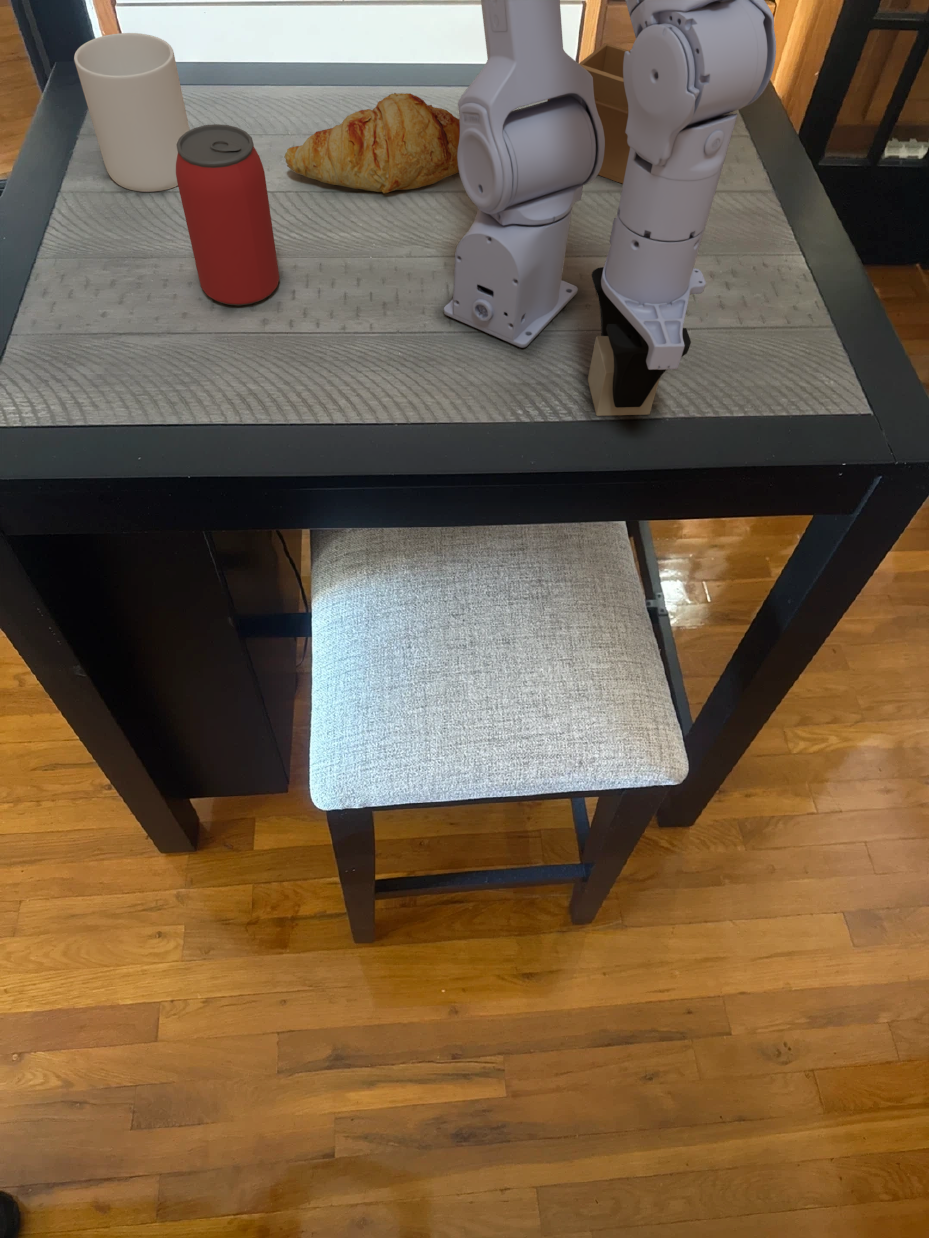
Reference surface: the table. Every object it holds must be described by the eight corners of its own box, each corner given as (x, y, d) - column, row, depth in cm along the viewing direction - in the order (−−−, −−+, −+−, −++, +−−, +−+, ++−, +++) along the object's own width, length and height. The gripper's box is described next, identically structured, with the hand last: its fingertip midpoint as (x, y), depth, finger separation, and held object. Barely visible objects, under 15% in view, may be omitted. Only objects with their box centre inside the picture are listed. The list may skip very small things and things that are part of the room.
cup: (118, 201, 82) (84, 83, 73) (90, 138, 88) (56, 22, 79) (207, 183, 84) (184, 68, 76) (174, 123, 90) (149, 10, 82)
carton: (637, 189, 87) (651, 122, 82) (541, 154, 90) (548, 87, 85) (686, 139, 93) (702, 73, 88) (594, 108, 96) (604, 42, 90)
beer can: (265, 315, 73) (242, 172, 63) (189, 302, 74) (154, 158, 64) (290, 269, 77) (272, 127, 67) (217, 257, 78) (188, 114, 68)
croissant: (297, 229, 86) (293, 179, 78) (276, 134, 87) (270, 74, 79) (506, 202, 90) (523, 151, 82) (484, 111, 91) (498, 52, 83)
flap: (652, 113, 81) (651, 117, 81) (550, 79, 84) (549, 82, 84) (642, 84, 76) (640, 88, 76) (533, 48, 79) (532, 52, 79)
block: (596, 416, 68) (605, 372, 65) (587, 379, 71) (596, 335, 67) (649, 415, 69) (662, 371, 65) (639, 378, 71) (650, 334, 67)
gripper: (752, 284, 53) (694, 449, 65) (696, 157, 62) (653, 322, 73) (637, 286, 53) (598, 451, 64) (596, 157, 61) (568, 324, 72)
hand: (621, 383), depth 68 cm, fingers closed on block, 4 cm apart
